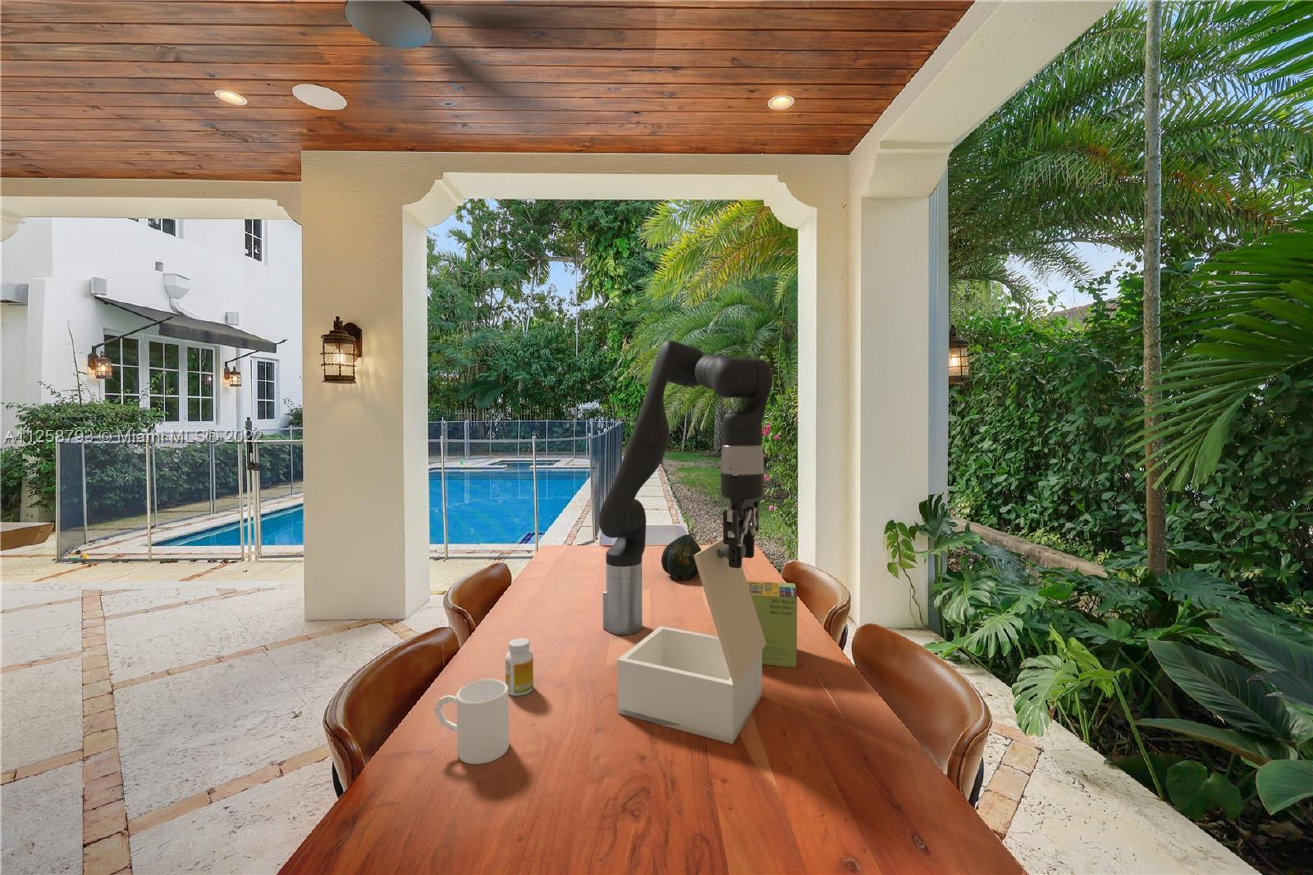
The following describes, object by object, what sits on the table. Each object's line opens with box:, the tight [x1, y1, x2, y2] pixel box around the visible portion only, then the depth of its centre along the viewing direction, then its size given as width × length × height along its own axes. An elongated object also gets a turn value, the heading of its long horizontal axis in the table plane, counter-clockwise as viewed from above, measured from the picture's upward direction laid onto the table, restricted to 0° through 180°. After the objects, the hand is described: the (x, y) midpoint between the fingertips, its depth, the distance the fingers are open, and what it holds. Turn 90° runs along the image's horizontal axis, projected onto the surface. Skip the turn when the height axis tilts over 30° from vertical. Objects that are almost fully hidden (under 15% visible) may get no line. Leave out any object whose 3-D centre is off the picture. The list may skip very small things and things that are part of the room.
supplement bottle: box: [504, 637, 534, 697], centre depth 110 cm, size 5×5×10 cm
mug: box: [433, 678, 510, 765], centre depth 90 cm, size 8×12×10 cm, turn 90°
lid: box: [694, 537, 766, 685], centre depth 99 cm, size 22×18×6 cm
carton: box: [616, 625, 763, 745], centre depth 104 cm, size 22×18×10 cm
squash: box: [660, 533, 703, 580], centre depth 188 cm, size 14×15×15 cm
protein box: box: [746, 580, 798, 668], centre depth 126 cm, size 10×15×16 cm
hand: (741, 562), depth 99 cm, fingers open, 7 cm apart
